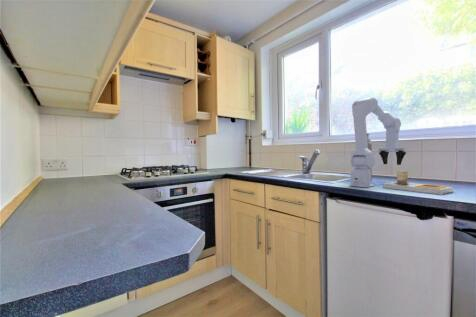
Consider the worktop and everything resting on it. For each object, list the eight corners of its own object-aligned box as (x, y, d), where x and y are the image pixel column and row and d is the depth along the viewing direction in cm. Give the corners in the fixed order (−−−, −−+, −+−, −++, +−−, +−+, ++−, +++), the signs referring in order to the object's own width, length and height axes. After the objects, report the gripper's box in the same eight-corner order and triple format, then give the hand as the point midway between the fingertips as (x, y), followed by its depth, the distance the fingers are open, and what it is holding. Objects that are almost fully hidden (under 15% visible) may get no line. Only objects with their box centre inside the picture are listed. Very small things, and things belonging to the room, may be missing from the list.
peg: (405, 189, 106) (405, 171, 106) (395, 187, 110) (395, 171, 109) (409, 188, 108) (409, 171, 108) (399, 187, 112) (399, 170, 112)
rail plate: (441, 194, 92) (441, 188, 92) (383, 187, 111) (383, 182, 111) (452, 191, 98) (452, 186, 98) (395, 185, 117) (395, 181, 117)
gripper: (410, 139, 123) (410, 164, 123) (384, 140, 136) (384, 163, 137) (402, 139, 120) (401, 165, 121) (376, 140, 134) (376, 164, 134)
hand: (391, 164), depth 128 cm, fingers open, 7 cm apart
